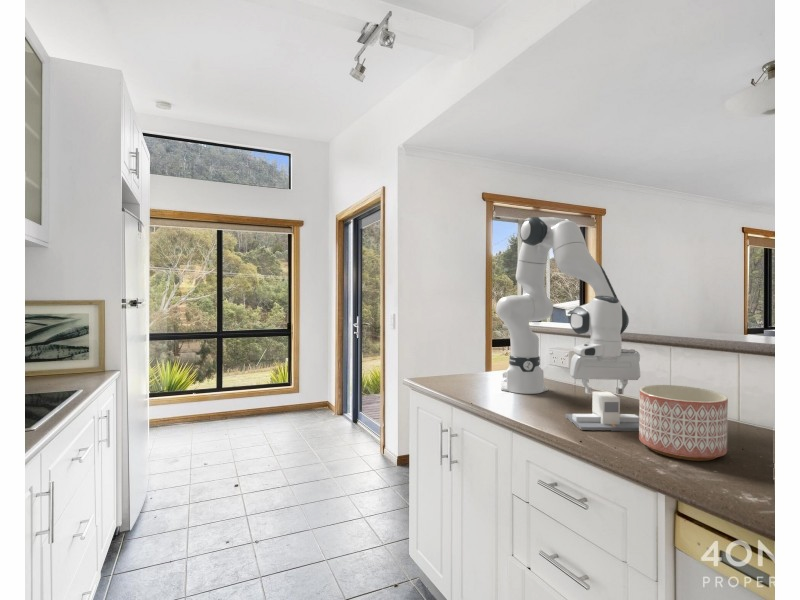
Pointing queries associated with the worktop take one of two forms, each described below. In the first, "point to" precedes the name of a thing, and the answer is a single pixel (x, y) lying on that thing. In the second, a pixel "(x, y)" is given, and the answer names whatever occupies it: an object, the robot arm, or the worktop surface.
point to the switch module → (606, 407)
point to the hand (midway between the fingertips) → (604, 393)
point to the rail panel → (594, 423)
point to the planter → (683, 421)
